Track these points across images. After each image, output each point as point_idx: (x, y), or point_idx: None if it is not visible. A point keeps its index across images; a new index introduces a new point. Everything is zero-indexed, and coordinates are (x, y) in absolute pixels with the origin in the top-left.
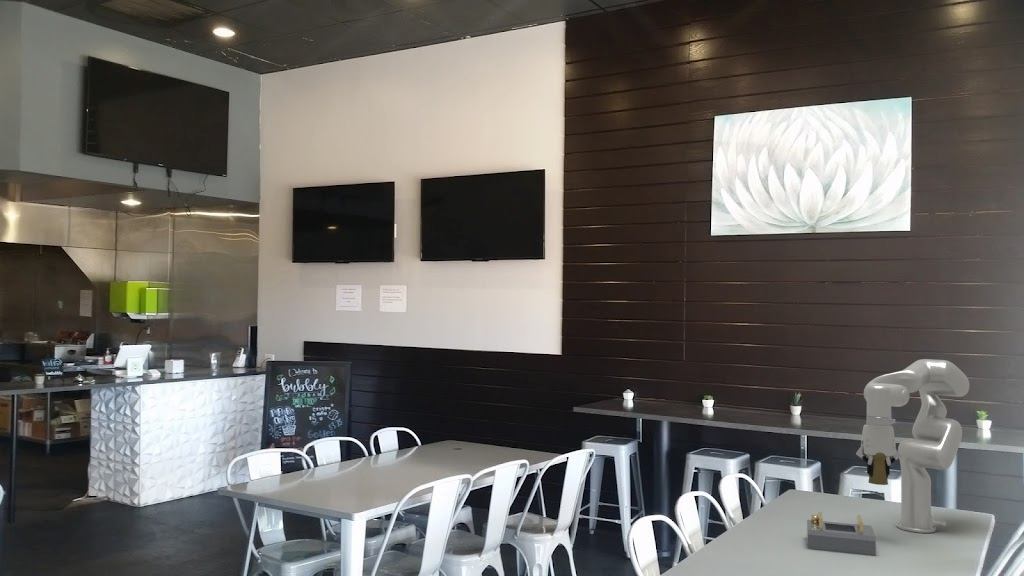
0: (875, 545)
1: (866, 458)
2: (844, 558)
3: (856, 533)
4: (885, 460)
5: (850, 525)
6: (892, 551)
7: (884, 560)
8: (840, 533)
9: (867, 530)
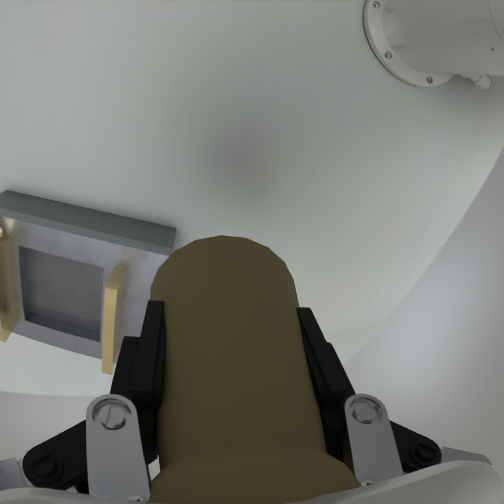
0: None
1: (88, 492)
2: (82, 354)
3: (100, 350)
4: (350, 447)
5: (93, 264)
6: None
7: None
8: (60, 347)
9: (138, 318)
